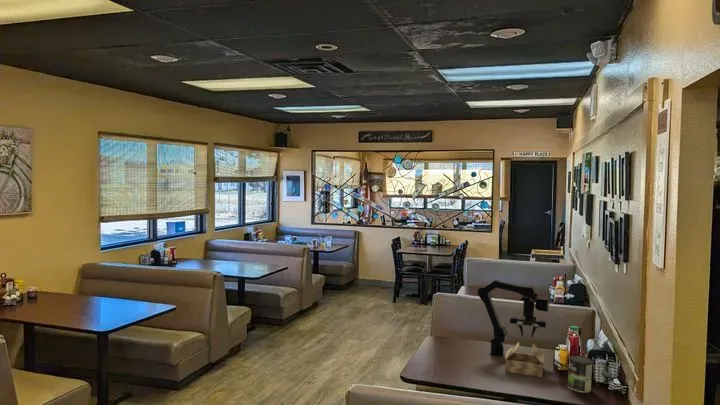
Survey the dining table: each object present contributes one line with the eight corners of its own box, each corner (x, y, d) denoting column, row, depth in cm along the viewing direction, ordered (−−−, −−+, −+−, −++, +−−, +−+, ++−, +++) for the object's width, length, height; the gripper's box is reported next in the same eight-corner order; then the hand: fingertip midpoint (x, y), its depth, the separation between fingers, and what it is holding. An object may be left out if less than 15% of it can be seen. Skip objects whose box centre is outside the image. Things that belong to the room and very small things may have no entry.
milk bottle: (579, 361, 293) (581, 325, 293) (580, 366, 286) (582, 329, 285) (564, 359, 296) (566, 324, 295) (565, 363, 288) (567, 327, 288)
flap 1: (519, 342, 284) (519, 341, 285) (517, 349, 270) (517, 349, 270) (508, 351, 287) (507, 350, 287) (505, 359, 273) (505, 358, 273)
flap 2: (531, 351, 268) (532, 351, 268) (532, 343, 282) (533, 343, 282) (542, 364, 266) (543, 364, 266) (543, 356, 280) (543, 355, 280)
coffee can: (574, 392, 247) (575, 362, 247) (563, 384, 257) (565, 355, 257) (595, 392, 248) (597, 363, 248) (584, 384, 258) (585, 355, 258)
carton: (504, 371, 272) (505, 359, 272) (507, 362, 287) (508, 351, 287) (541, 377, 266) (542, 365, 266) (542, 367, 281) (543, 356, 281)
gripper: (509, 310, 287) (508, 338, 288) (546, 314, 281) (544, 343, 281) (511, 306, 298) (510, 333, 298) (546, 310, 291) (545, 338, 292)
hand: (527, 337), depth 292 cm, fingers open, 4 cm apart
